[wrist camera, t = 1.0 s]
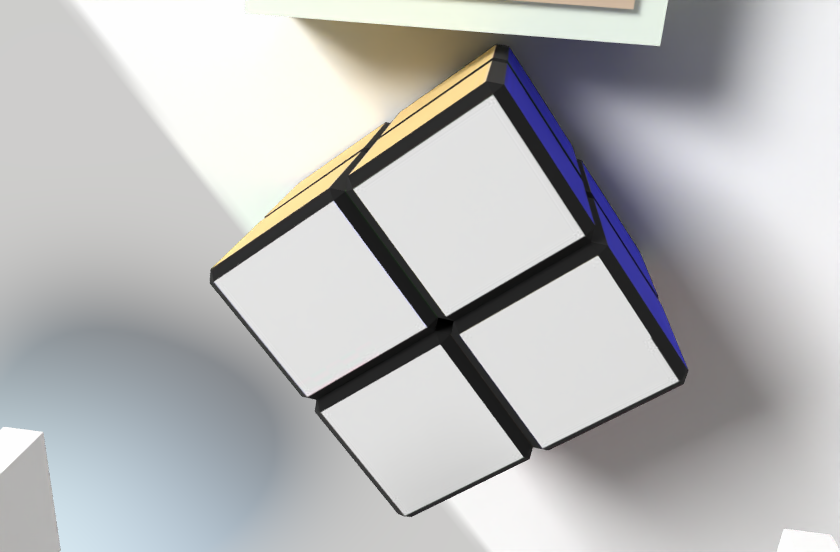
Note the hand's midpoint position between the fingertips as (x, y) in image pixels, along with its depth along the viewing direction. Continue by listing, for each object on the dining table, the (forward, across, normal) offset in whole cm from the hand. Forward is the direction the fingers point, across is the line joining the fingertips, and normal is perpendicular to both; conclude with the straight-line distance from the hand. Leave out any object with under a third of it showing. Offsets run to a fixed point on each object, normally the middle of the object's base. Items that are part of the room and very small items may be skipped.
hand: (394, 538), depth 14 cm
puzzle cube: (+18, 0, 0) cm, 18 cm away
